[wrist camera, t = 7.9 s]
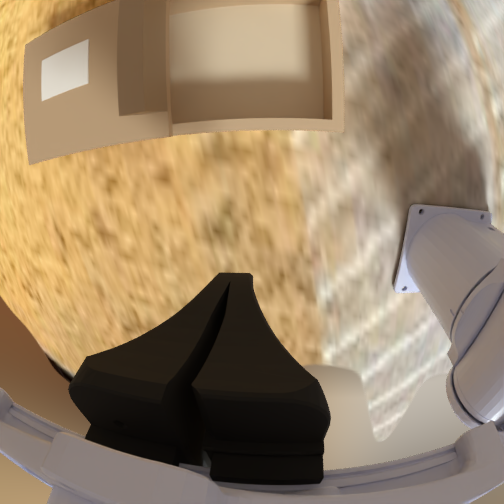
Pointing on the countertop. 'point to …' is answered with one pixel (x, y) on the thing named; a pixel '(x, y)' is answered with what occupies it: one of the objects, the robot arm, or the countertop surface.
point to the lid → (98, 80)
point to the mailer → (255, 65)
